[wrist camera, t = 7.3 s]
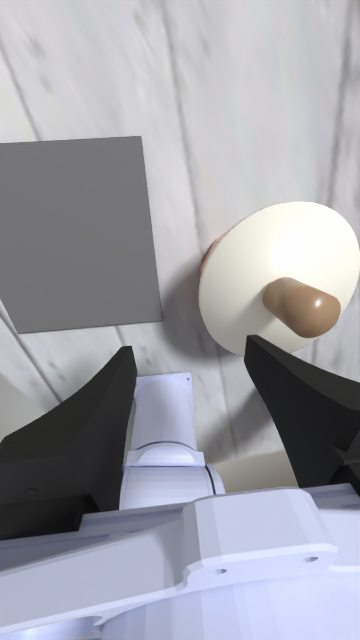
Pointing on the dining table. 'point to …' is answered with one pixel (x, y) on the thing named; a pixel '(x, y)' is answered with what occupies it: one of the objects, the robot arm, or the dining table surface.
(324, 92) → the dining table surface
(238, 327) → the lid
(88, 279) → the mat
